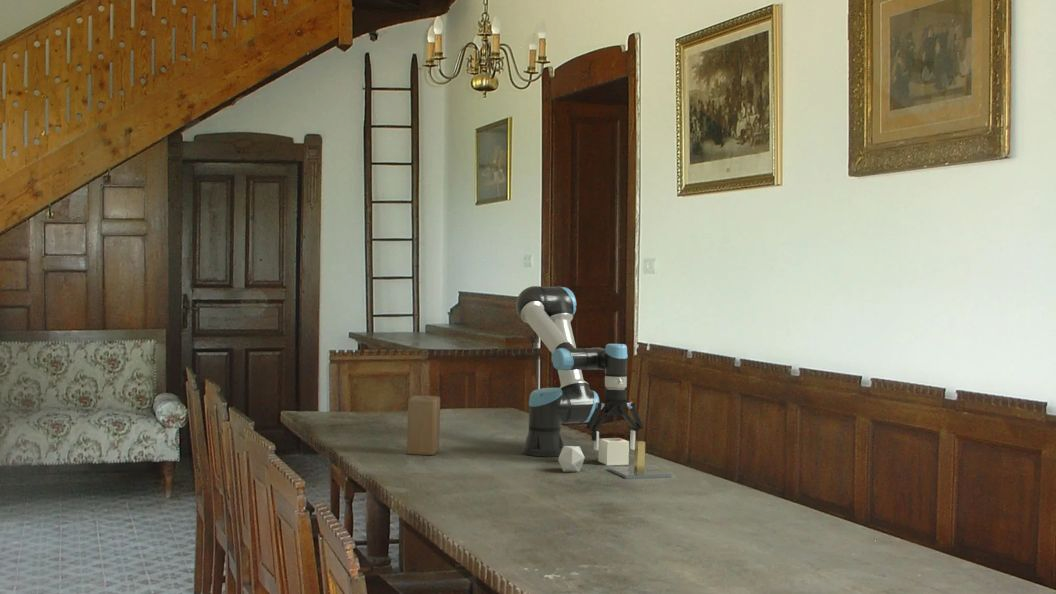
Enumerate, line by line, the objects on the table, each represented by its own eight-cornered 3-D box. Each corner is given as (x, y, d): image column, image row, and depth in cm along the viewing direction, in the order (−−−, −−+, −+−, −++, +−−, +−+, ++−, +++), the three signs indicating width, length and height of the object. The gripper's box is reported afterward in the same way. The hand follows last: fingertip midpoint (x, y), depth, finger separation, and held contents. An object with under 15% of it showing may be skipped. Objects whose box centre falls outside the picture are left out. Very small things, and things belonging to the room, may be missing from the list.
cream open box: (606, 465, 377) (607, 441, 377) (598, 461, 384) (599, 437, 384) (628, 464, 379) (629, 440, 379) (619, 460, 387) (620, 437, 387)
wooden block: (439, 451, 395) (440, 396, 395) (434, 456, 385) (435, 399, 385) (411, 450, 396) (413, 394, 396) (406, 454, 386) (407, 397, 386)
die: (575, 476, 358) (591, 451, 361) (552, 461, 359) (568, 436, 362) (573, 481, 366) (589, 456, 369) (551, 466, 367) (567, 441, 370)
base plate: (626, 478, 353) (627, 446, 353) (607, 469, 368) (608, 438, 368) (671, 477, 358) (672, 445, 358) (651, 468, 373) (652, 437, 373)
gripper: (585, 389, 374) (584, 452, 374) (653, 389, 381) (651, 450, 381) (578, 387, 381) (576, 449, 381) (644, 387, 389) (643, 447, 389)
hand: (614, 449), depth 381 cm, fingers open, 13 cm apart
